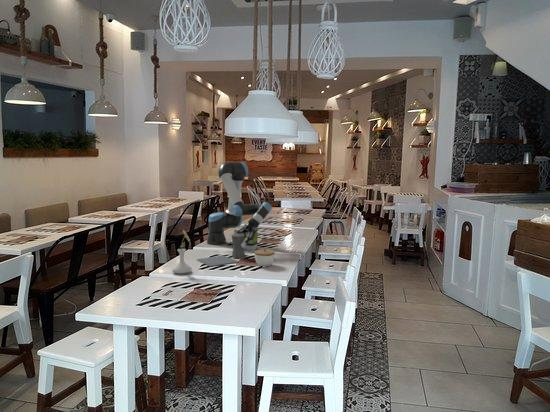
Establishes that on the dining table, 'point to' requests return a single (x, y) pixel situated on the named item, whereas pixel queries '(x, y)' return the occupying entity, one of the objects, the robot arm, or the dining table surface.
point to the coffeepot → (238, 245)
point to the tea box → (250, 241)
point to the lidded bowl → (264, 257)
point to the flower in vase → (182, 260)
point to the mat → (217, 261)
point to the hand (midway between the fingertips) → (236, 244)
